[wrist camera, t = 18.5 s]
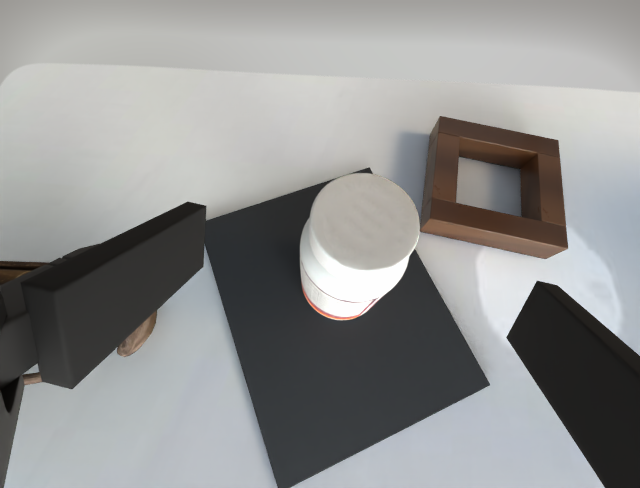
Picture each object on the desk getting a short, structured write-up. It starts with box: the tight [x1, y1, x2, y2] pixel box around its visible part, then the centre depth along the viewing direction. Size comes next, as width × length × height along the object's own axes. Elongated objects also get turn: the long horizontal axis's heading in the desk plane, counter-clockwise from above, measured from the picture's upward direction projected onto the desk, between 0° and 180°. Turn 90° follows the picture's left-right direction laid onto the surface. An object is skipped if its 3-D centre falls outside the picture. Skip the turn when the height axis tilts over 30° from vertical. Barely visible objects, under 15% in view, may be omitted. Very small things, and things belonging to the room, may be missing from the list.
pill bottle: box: [300, 173, 420, 320], centre depth 19 cm, size 6×6×11 cm
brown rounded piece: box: [0, 261, 157, 385], centre depth 20 cm, size 7×13×10 cm
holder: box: [420, 116, 568, 259], centre depth 28 cm, size 11×11×2 cm
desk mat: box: [204, 168, 490, 488], centre depth 24 cm, size 20×16×1 cm
